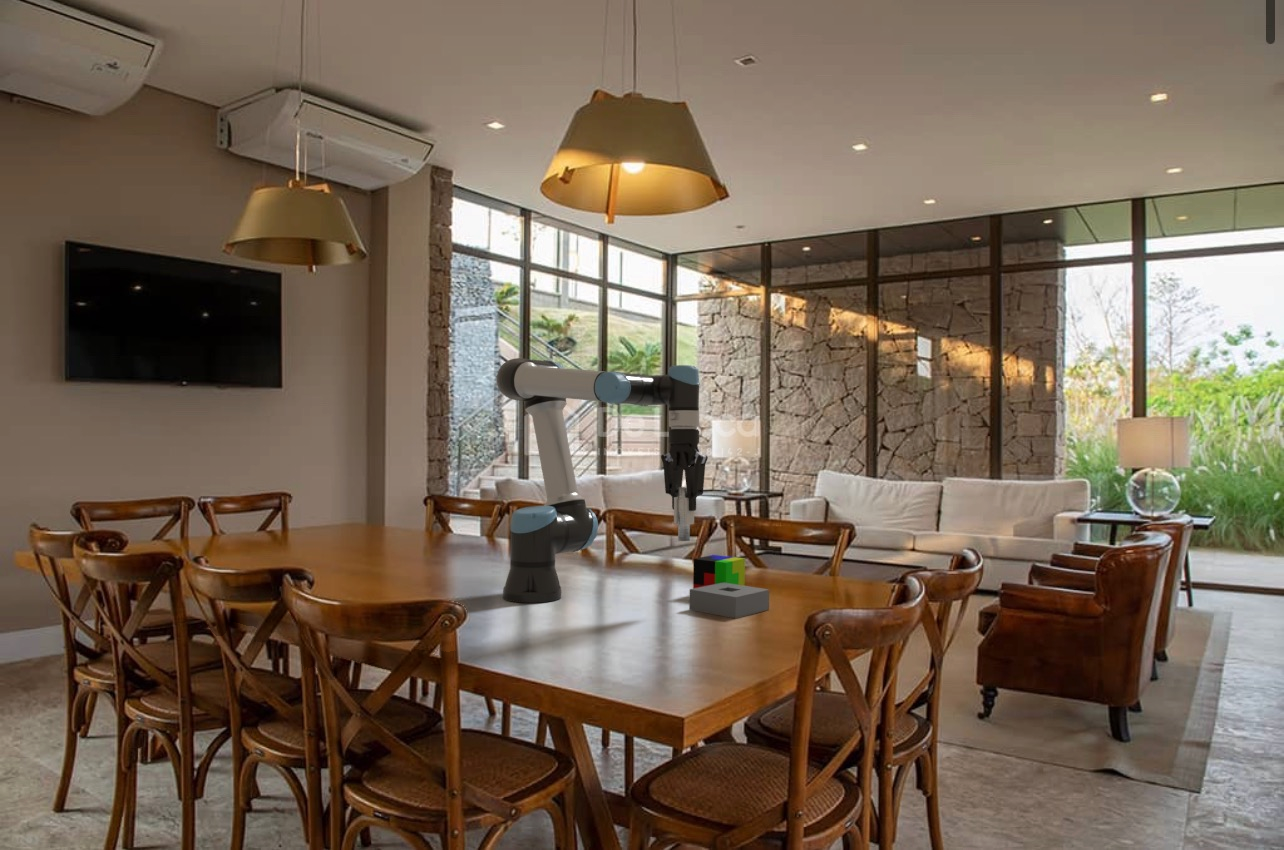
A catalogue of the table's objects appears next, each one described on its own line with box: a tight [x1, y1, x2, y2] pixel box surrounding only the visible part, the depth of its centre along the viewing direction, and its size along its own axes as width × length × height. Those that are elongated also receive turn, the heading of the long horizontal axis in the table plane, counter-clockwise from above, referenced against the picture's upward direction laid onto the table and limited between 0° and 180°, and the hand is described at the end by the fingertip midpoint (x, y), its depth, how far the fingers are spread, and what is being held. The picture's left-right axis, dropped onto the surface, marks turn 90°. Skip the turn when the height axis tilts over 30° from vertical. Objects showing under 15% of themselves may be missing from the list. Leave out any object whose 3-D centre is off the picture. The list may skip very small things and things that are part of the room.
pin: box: [677, 486, 691, 542], centre depth 213 cm, size 3×3×13 cm
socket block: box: [689, 583, 770, 619], centre depth 214 cm, size 14×14×5 cm
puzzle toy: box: [692, 554, 746, 589], centre depth 232 cm, size 10×10×10 cm
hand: (684, 523), depth 213 cm, fingers closed on pin, 3 cm apart
